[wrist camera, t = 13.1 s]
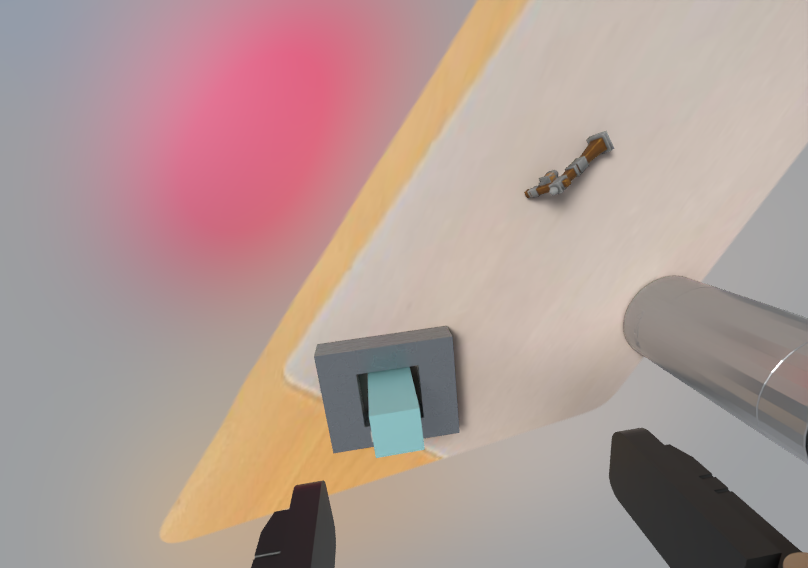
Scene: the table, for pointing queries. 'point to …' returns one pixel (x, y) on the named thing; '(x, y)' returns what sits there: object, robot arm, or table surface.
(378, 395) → the teal peg
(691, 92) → the table surface
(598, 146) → the brown piece
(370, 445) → the rail plate
